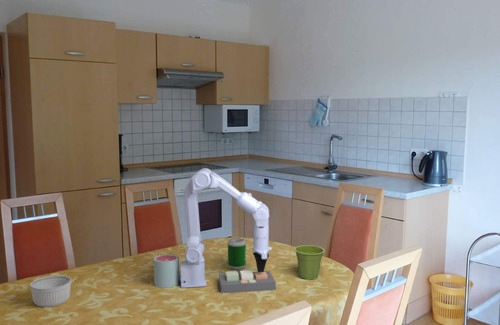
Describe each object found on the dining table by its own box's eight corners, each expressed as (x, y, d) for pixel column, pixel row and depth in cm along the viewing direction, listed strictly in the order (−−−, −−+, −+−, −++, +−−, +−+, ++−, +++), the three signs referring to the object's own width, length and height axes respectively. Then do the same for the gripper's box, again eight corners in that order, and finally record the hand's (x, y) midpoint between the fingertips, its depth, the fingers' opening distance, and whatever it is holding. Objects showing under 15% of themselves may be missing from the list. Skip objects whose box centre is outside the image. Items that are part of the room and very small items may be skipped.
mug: (173, 288, 170) (173, 262, 169) (150, 286, 172) (149, 261, 171) (186, 275, 183) (186, 251, 182) (164, 274, 185) (164, 250, 184)
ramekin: (60, 290, 168) (59, 272, 168) (79, 299, 160) (78, 280, 159) (23, 301, 158) (22, 282, 157) (42, 312, 150) (41, 292, 149)
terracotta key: (256, 285, 172) (256, 276, 171) (254, 281, 176) (254, 272, 175) (267, 284, 172) (267, 275, 172) (265, 280, 177) (265, 271, 176)
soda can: (245, 270, 189) (245, 242, 188) (227, 270, 189) (227, 242, 188) (246, 264, 196) (246, 237, 195) (228, 264, 197) (228, 237, 195)
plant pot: (309, 284, 174) (310, 256, 173) (287, 276, 183) (288, 248, 182) (330, 277, 182) (330, 249, 180) (308, 269, 191) (308, 243, 189)
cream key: (241, 284, 171) (241, 274, 170) (240, 279, 175) (239, 270, 174) (253, 283, 171) (253, 274, 171) (251, 279, 176) (251, 270, 175)
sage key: (226, 284, 170) (226, 275, 169) (225, 280, 174) (225, 271, 174) (238, 284, 170) (238, 275, 170) (237, 279, 175) (237, 271, 174)
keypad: (221, 293, 166) (221, 284, 165) (218, 281, 178) (218, 273, 177) (275, 289, 169) (275, 281, 169) (269, 278, 181) (269, 270, 180)
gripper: (275, 241, 166) (275, 277, 167) (267, 231, 180) (267, 264, 181) (256, 242, 164) (256, 278, 166) (249, 231, 179) (249, 265, 180)
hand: (260, 271), depth 174 cm, fingers closed
